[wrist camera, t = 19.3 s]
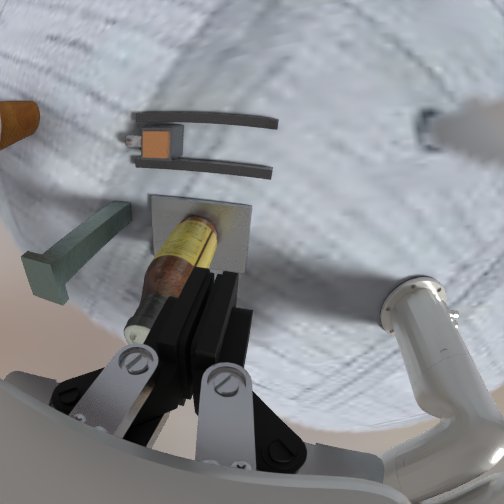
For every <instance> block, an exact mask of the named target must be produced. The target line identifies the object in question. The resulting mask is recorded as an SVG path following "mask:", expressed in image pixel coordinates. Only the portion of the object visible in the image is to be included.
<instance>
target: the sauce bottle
mask: <svg viewBox="0 0 504 504" xmlns="http://www.w3.org/2000/svg"><path fill="white" fill-rule="evenodd" d="M217 242H218V239H217V234H216V230H215V229H214V227H213V225H212V224H211V223H210V222H209V221H207V220H205V219H203V218H200V217H190V218H187V219H184V220H183V221H181V222H180V224H179V225H177V226H176V228H175V229H174V230H173V232H172V233H171V234H170V236H169V237H168V239H167V240H166V242H165V243H164V245H163V246H162V247H161V249H160V250H159V252H158V253H157V255H156V256H155V258H154V259H153V261H152V262H151V264H150V265H149V267H148V269H147V271H146V274H145V279H144V285H143V291H142V298H141V302H140V305H139V307H138V309H137V310H136V312H135V314H134V316H133V317H131V318H130V319H129V320H128V322H127V324H126V326H125V328H124V336H125V339H126V341H127V343H128V344H129V345H130V344H143V343H144V341H145V339H146V337H147V335H148V333H149V332H150V330H151V328H152V326H153V324H154V322H155V320H156V318H157V317H158V315H159V313H160V311H161V309H162V307H163V306H164V304H165V302H166V300H167V299H168V297H170V296H172V297H179V295H180V293H181V291H182V289H183V287H184V285H185V283H186V282H187V280H188V278H189V276H190V274H191V272H192V270H193V268H194V267H195V266H196V267H202V268H209V266H210V263H211V261H212V258H213V255H214V253H215V250H216V246H217Z"/></svg>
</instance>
